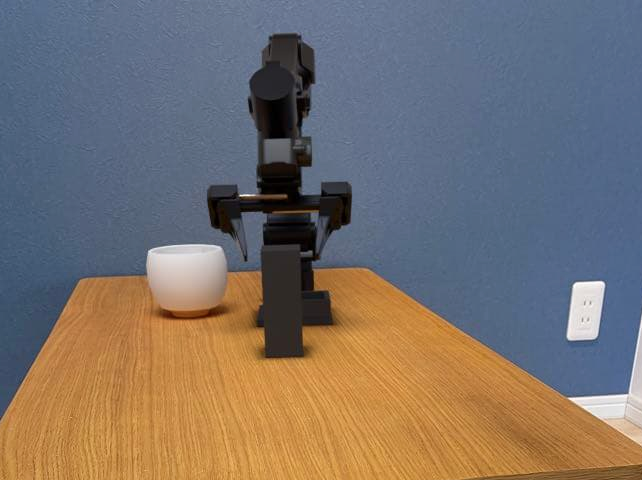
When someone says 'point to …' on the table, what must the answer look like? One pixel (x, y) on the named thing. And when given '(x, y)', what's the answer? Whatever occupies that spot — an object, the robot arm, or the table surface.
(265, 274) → the post
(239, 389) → the table surface
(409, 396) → the table surface
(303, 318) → the base pad
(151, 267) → the cup
